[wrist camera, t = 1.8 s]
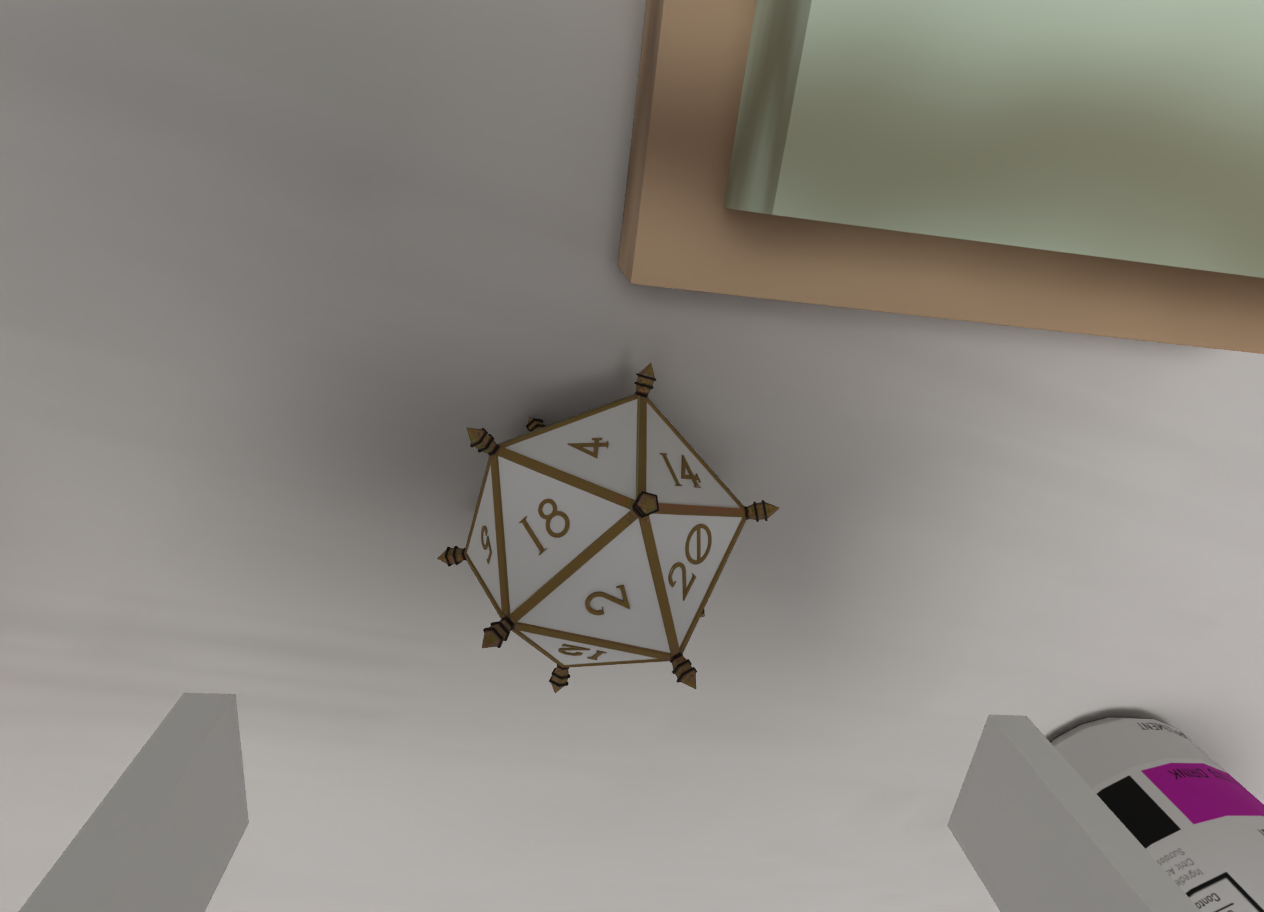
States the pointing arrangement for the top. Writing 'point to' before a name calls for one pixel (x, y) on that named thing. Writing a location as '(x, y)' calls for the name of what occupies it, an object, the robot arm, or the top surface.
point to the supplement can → (1176, 807)
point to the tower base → (861, 258)
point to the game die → (601, 536)
